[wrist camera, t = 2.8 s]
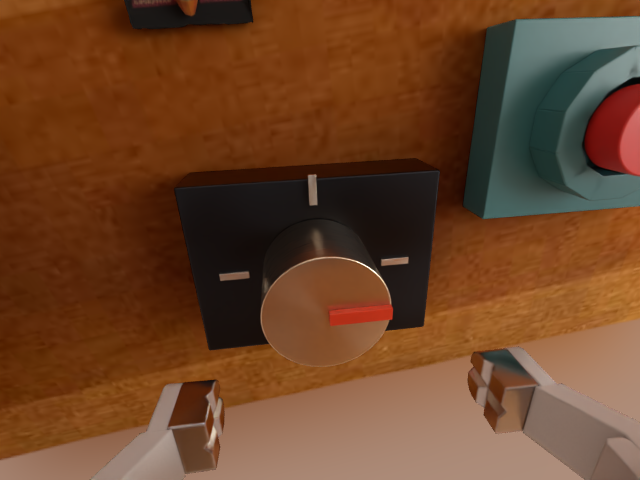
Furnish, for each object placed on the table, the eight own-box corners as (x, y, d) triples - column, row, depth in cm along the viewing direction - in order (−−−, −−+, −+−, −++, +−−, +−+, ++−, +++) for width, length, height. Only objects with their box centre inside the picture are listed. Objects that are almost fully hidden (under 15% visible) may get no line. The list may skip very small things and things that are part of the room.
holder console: (217, 320, 21) (208, 356, 18) (187, 168, 17) (170, 184, 15) (405, 300, 22) (425, 331, 19) (416, 154, 19) (442, 166, 16)
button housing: (462, 206, 20) (503, 232, 16) (486, 27, 16) (546, 10, 13) (618, 194, 21) (689, 216, 17) (673, 22, 17) (779, 4, 14)
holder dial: (269, 316, 18) (267, 379, 14) (257, 223, 16) (252, 267, 12) (366, 306, 18) (391, 364, 15) (368, 214, 16) (397, 254, 12)
